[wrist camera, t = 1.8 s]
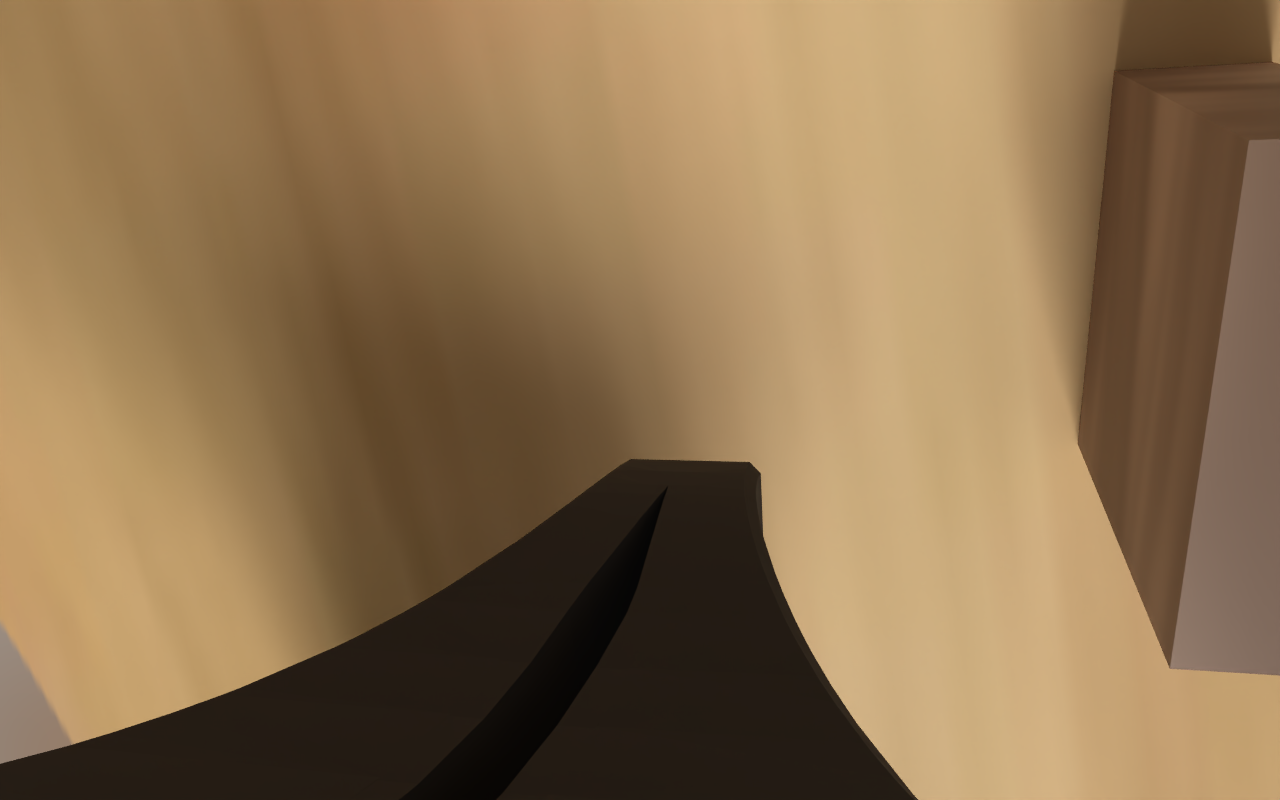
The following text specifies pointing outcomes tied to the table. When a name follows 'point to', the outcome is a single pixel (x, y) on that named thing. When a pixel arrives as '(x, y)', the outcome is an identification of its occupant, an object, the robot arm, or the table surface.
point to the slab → (1192, 357)
